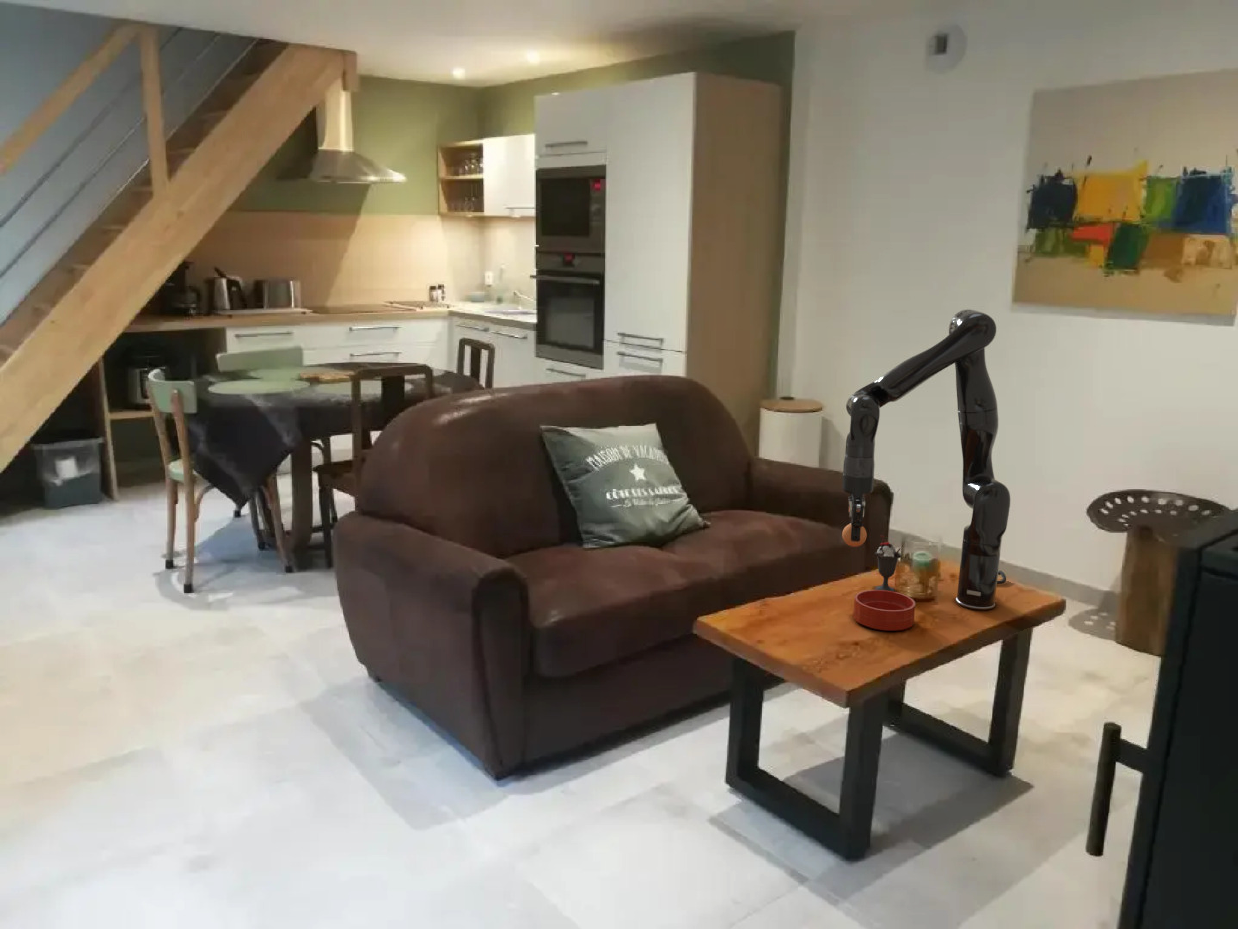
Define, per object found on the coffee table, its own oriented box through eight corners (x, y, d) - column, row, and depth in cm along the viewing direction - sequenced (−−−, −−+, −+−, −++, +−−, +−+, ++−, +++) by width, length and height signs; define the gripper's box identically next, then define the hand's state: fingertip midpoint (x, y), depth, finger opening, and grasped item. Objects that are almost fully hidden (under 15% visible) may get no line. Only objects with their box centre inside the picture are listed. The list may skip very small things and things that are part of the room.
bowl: (868, 606, 247) (870, 585, 246) (922, 620, 238) (924, 599, 237) (843, 622, 236) (844, 601, 235) (898, 637, 227) (900, 615, 226)
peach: (848, 541, 250) (849, 515, 249) (870, 545, 247) (871, 520, 245) (837, 546, 246) (839, 521, 244) (859, 551, 242) (861, 525, 241)
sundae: (867, 586, 261) (871, 533, 257) (889, 584, 262) (894, 531, 259) (879, 595, 255) (883, 540, 251) (902, 593, 256) (907, 539, 253)
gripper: (876, 480, 234) (871, 546, 238) (871, 466, 248) (867, 529, 252) (844, 478, 236) (840, 545, 240) (841, 465, 249) (837, 528, 253)
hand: (854, 536), depth 246 cm, fingers closed on peach, 6 cm apart
